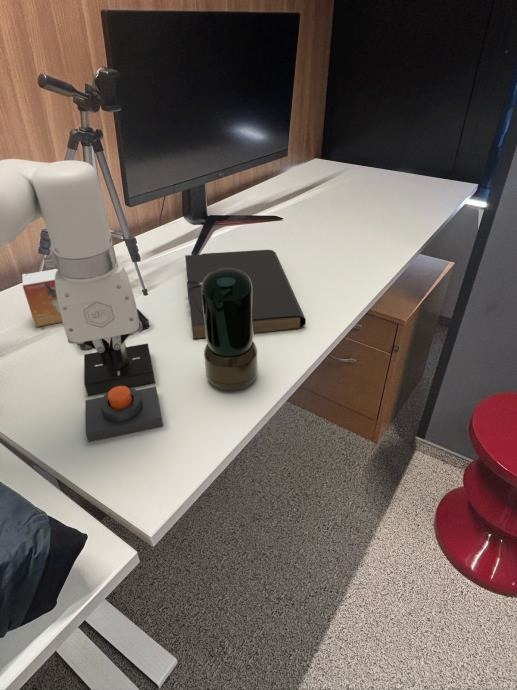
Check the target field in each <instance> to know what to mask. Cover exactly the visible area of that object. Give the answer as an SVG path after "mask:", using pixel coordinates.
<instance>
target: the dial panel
mask: <svg viewBox="0 0 517 690" xmlns="http://www.w3.org/2000/svg"><path fill="white" fill-rule="evenodd" d="M126 350H127V355H128V359H129V361H128V363H127V365H125V366H124V367H122V368H120V371H118V372H117V371H115V369H114V371H113V372H112V373H110V372H109V369H108V366H103V362H102V359H101V355H100V353H99V352H97V351H96V352H90V353H85V354H84V355H83V356H84V357H83V378H84V379H83V381H84V382H83V383H84V387H85V390H86V394H87V397H91V396H97V395H102V394H107V393H108V392H109V391H110V390H111V389H112V388H114V387H117V386H126V387H128V388H133V389H135V388H138V387H143V386H149V385H153V384H154V385H155V384H156V380H155V379H156V378H155V373H154V368H153V363H152V358H151V353H150V346H149V343H141V344H136V345H130V346H126Z"/></svg>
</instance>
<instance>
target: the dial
mask: <svg viewBox="0 0 517 690" xmlns="http://www.w3.org/2000/svg"><path fill="white" fill-rule="evenodd" d="M111 339H112V337H109V338H104V340H106V341H107V343H108V342H109V345H110V340H111ZM126 347H127V345H126V340H125V341H124V342H123V344H122V345H121V352H122V356H123V363H120V368H122V367H124V366H125V365H127V363H128V361H129V359H128V355H127V350H126ZM114 369H115V368H114Z"/></svg>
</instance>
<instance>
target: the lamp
mask: <svg viewBox="0 0 517 690" xmlns="http://www.w3.org/2000/svg"><path fill="white" fill-rule="evenodd" d="M201 293H202V303H203V314H204V325H205V335H206V338H205V340H206V344H205V347H204V349H203V358H204V367H205V376H206V379H207V380H208V382H209V383H210V384H211V385H212V386H214V387H215V388H217V389H220V390H224V391H237V390H241V389H244V388H246V387H248V386H249V385H251V384H253V382H254V381H255V379H256V378H257V376H258V348H257V345H256V344H255V342H254V334H255V333H254V326H253V286H252V282H251V280H250V278H249V277H248V275H247V274H246V273H244V272H243V271H241V270H239V269H236V268H231V267H224V268H219V269H216V270H213V271H212V272H210V273H209V274H208V275H207V276H206V277H205V278H204V280H203V282H202V286H201Z"/></svg>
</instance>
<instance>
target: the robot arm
mask: <svg viewBox="0 0 517 690" xmlns="http://www.w3.org/2000/svg"><path fill="white" fill-rule="evenodd" d="M40 218H43V221H44V224H45V228H46V231H47V234H48V238H49V240H50V244H51V247H52V251H53V252H52V254H50V255H49V256H43V262H44V266H45V267H46V268H50V267H52V268H54V269H58V270H57V272H56V275H55V287H56V295H57V300H58V304H59V309H60V313H61V317H62V321H63V322H62V324H63V329H64V332H65V335H66V337H67V342H68V343H69V344H73V345H74V344H75V345H78V344H82V343H85V344H86V345H88V346H90V347H92V348H93V349H94V350H95V351H96V352H99V353H100V355H101V359H102V362H103V366H108V369H109V372H110V373H112V372H113V371H114V368H115V371H117V372H118V371H120V363H123V356H122V352H121V345H122V344H123V342H124V341H125V342H126V340H128V337H129V336H133V335H135V334H137V333H139V332H141V331H143V330H144V329H143V328H142V323H141V321H140V320H139V318H138V312H137V309H138V307H137V304H136V299H135V295H134V292H133V288H132V285H131V282H130V279H129V275H128V274H127V271H126V269H125V267H124V264H123V262H122V261H121V260H119V259H117V255H116V251H115V247H114V242H113V238H112V233H111V229H110V224H109V219H108V215H107V209H106V206H105V200H104V196H103V192H102V187H101V182H100V179H99V175H98V172H97V170H96V169H95V167H94V166H93V165H92V164H90V163H88V162H87V161H86V162H85V161H82V160H75V159H73V160H72V159H69V160H68V159H67V160H57V161H53V162H42V161H35V160H27V159H20V158H5V159H1V160H0V247H2V246H3V247H4V246H7V245H9V244H11V243H12V242H14V241H15V240H17V238H18V237H19V236H20V235H21V234H22V233H23V232H24V231H25V230H26V229H27V227H29V225H30V224H32V223H33V222H35V221H37V220H38V219H40ZM142 329H143V330H142ZM109 337H112V339H111V340H110V345H109V342H108V343H107V341H106V340H104V338H109Z"/></svg>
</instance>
